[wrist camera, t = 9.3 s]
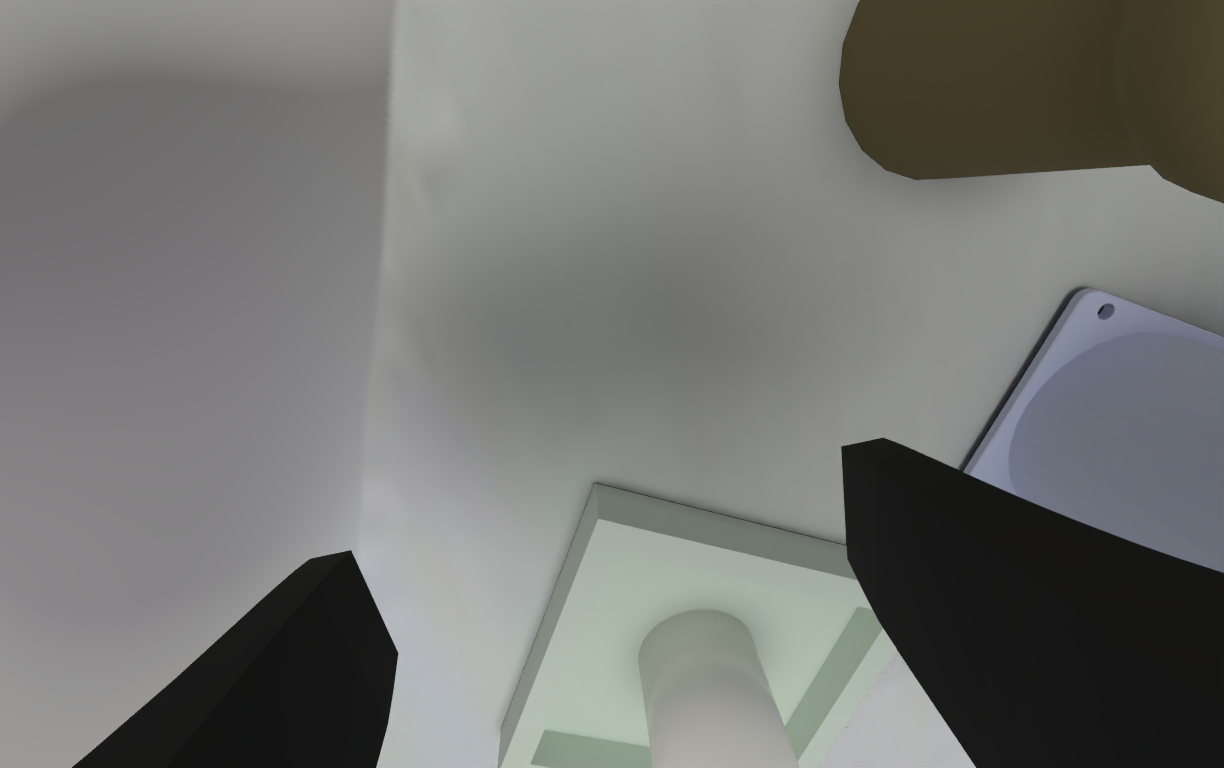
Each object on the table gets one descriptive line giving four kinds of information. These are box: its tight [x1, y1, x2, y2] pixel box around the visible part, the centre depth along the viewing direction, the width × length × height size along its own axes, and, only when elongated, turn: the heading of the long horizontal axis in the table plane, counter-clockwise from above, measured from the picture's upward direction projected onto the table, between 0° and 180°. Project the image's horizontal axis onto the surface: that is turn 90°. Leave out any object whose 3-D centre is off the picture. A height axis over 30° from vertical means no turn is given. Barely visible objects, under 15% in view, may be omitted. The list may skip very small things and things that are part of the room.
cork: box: [839, 0, 1224, 203], centre depth 12 cm, size 6×6×11 cm
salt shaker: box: [638, 610, 800, 768], centre depth 20 cm, size 4×4×7 cm
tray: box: [498, 483, 897, 768], centre depth 23 cm, size 12×12×2 cm
